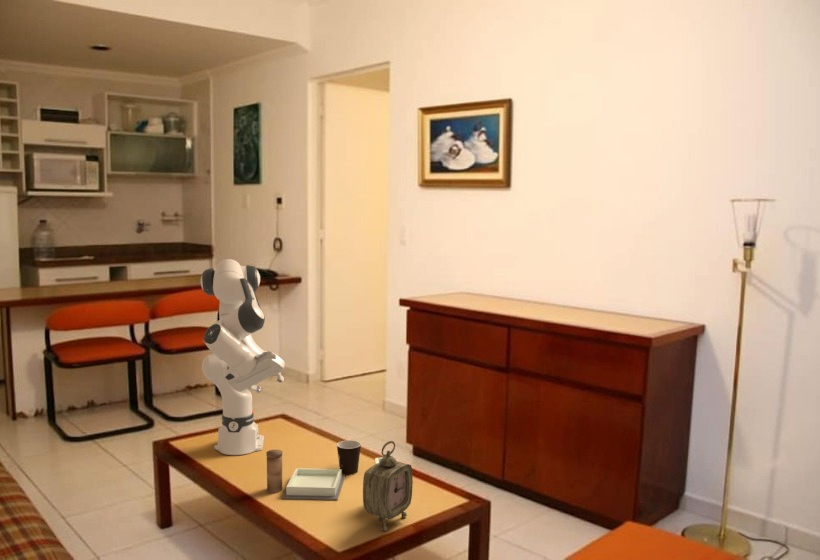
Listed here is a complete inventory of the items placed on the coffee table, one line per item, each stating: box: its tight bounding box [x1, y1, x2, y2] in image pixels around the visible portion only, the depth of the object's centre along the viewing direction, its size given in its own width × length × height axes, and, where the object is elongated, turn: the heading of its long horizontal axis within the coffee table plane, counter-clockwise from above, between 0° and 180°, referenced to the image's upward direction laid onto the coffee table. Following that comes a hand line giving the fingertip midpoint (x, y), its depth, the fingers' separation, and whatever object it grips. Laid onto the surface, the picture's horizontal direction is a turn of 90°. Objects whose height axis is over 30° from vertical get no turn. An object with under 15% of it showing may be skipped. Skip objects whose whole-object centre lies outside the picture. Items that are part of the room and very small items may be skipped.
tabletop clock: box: [362, 440, 414, 532], centre depth 202 cm, size 14×9×25 cm, turn 148°
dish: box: [285, 467, 343, 496], centre depth 228 cm, size 16×16×3 cm
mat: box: [281, 474, 346, 501], centre depth 228 cm, size 20×18×1 cm
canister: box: [266, 449, 283, 494], centre depth 225 cm, size 5×5×13 cm
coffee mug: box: [336, 439, 362, 476], centre depth 243 cm, size 12×9×10 cm
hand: (271, 385), depth 229 cm, fingers open, 8 cm apart
